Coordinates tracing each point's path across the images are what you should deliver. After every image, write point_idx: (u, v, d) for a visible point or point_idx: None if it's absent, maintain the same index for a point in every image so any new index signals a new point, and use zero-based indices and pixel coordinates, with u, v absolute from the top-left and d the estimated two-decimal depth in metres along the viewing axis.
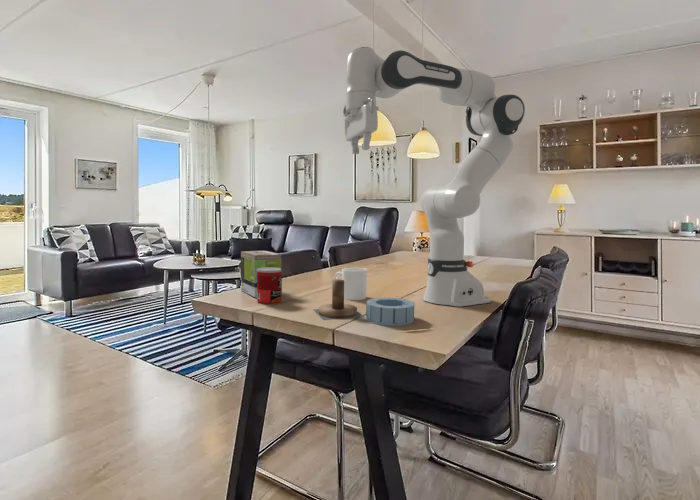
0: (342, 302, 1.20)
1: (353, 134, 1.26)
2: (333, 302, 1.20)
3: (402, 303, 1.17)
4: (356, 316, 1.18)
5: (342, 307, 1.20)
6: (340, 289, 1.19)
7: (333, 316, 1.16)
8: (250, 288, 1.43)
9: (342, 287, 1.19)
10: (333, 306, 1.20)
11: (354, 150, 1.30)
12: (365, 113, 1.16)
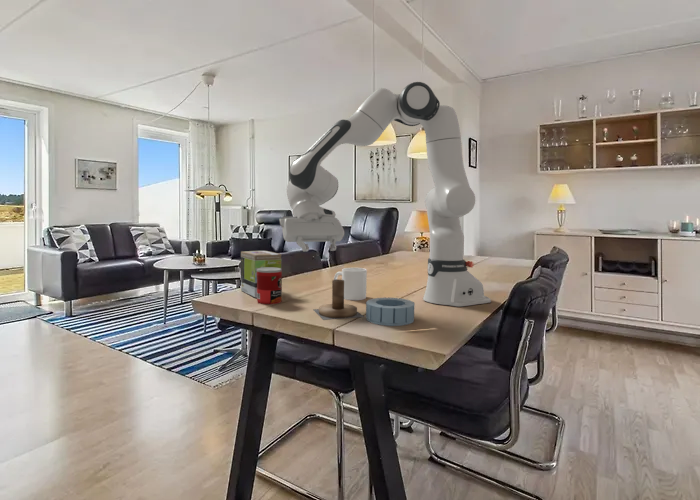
0: (342, 302, 1.20)
1: None
2: (333, 302, 1.20)
3: (402, 303, 1.17)
4: (356, 316, 1.18)
5: (342, 307, 1.20)
6: (339, 289, 1.19)
7: (333, 316, 1.16)
8: (250, 288, 1.43)
9: (342, 287, 1.19)
10: (333, 306, 1.20)
11: (330, 248, 1.33)
12: None
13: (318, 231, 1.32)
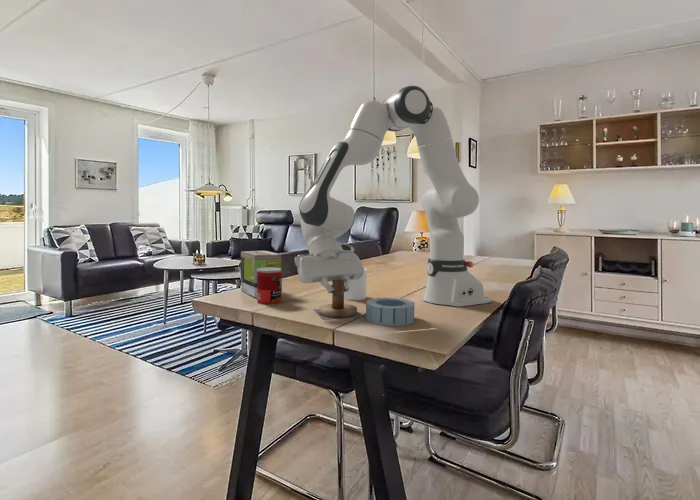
0: (342, 302, 1.20)
1: None
2: (333, 302, 1.20)
3: (402, 303, 1.17)
4: (356, 316, 1.18)
5: (342, 307, 1.20)
6: (339, 289, 1.19)
7: (333, 316, 1.16)
8: (250, 288, 1.43)
9: (342, 287, 1.19)
10: (333, 306, 1.20)
11: None
12: None
13: (336, 270, 1.22)
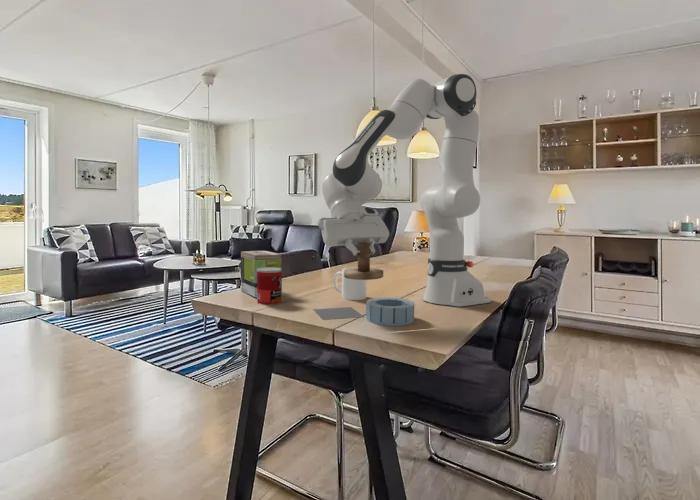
0: (368, 264, 1.16)
1: None
2: (359, 265, 1.16)
3: (402, 303, 1.17)
4: (356, 316, 1.18)
5: (368, 270, 1.16)
6: (365, 250, 1.15)
7: (359, 278, 1.12)
8: (250, 288, 1.43)
9: (368, 249, 1.16)
10: (359, 269, 1.16)
11: None
12: None
13: (361, 232, 1.19)
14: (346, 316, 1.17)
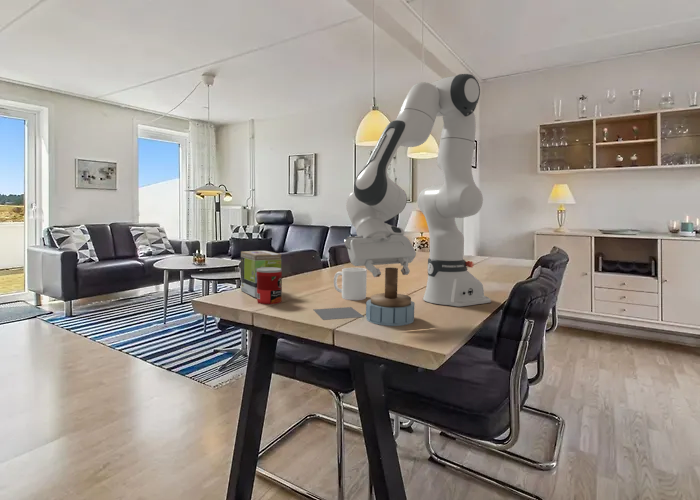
0: (396, 291, 1.14)
1: None
2: (386, 291, 1.14)
3: None
4: (356, 316, 1.18)
5: (396, 296, 1.14)
6: (393, 277, 1.13)
7: (388, 305, 1.10)
8: (250, 288, 1.43)
9: (396, 275, 1.13)
10: (386, 295, 1.14)
11: (402, 272, 1.17)
12: None
13: (388, 252, 1.16)
14: (346, 316, 1.17)
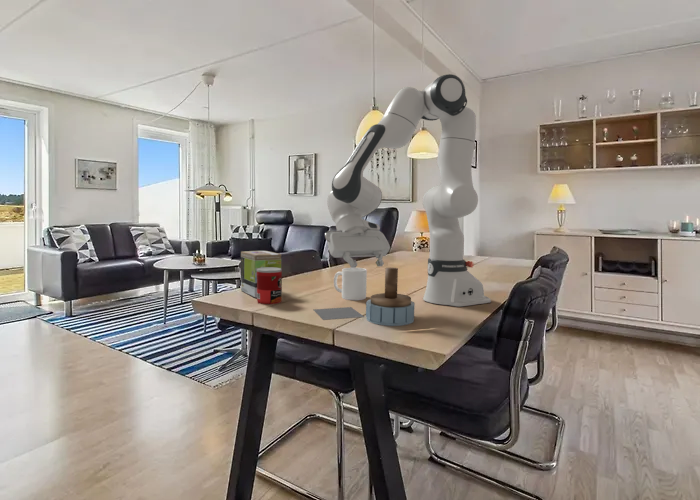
0: (396, 291, 1.14)
1: None
2: (386, 291, 1.14)
3: None
4: (356, 316, 1.18)
5: (396, 296, 1.14)
6: (393, 277, 1.13)
7: (388, 305, 1.10)
8: (250, 288, 1.43)
9: (396, 275, 1.13)
10: (386, 295, 1.14)
11: (377, 263, 1.28)
12: None
13: (365, 245, 1.27)
14: (346, 316, 1.17)
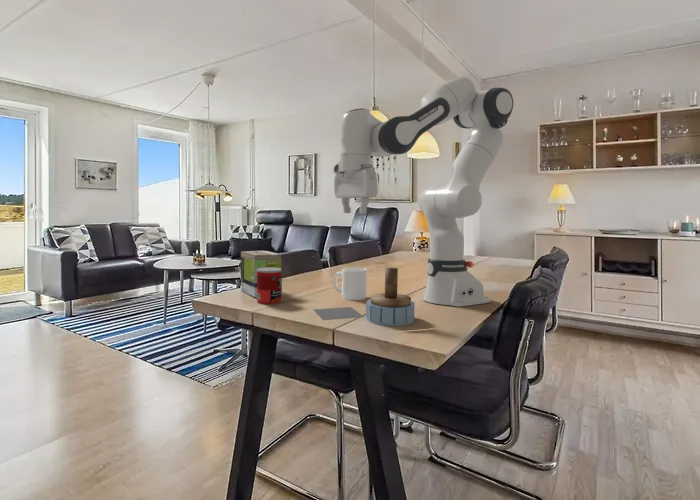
0: (396, 291, 1.14)
1: (347, 194, 1.23)
2: (386, 291, 1.14)
3: None
4: (356, 316, 1.18)
5: (396, 296, 1.14)
6: (393, 277, 1.13)
7: (388, 305, 1.10)
8: (250, 288, 1.43)
9: (396, 275, 1.13)
10: (386, 295, 1.14)
11: (346, 209, 1.27)
12: (365, 180, 1.14)
13: None
14: (346, 316, 1.17)
